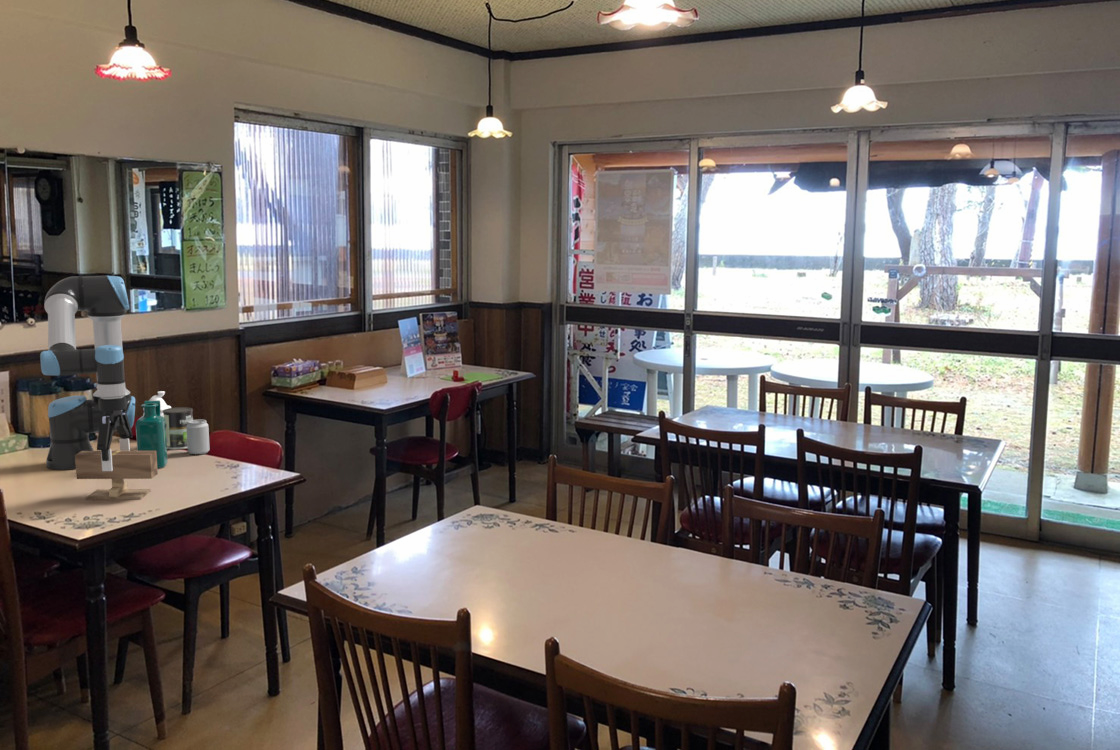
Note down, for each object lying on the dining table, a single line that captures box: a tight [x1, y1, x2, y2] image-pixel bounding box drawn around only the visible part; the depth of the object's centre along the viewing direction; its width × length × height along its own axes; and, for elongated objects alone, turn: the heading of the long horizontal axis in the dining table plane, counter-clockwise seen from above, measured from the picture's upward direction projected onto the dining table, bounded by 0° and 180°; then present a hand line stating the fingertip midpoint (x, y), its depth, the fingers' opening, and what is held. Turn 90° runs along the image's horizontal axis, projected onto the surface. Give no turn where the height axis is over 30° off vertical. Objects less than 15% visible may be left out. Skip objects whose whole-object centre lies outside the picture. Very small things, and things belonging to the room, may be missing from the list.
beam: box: [75, 450, 159, 480], centre depth 271 cm, size 5×22×8 cm, turn 94°
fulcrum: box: [85, 479, 152, 501], centre depth 272 cm, size 8×16×6 cm, turn 95°
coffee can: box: [163, 406, 194, 450], centre depth 332 cm, size 10×10×14 cm
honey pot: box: [141, 390, 172, 417], centre depth 346 cm, size 13×13×18 cm
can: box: [186, 419, 211, 456], centre depth 324 cm, size 8×8×12 cm
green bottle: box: [135, 400, 169, 469], centre depth 305 cm, size 10×8×22 cm
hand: (116, 464), depth 271 cm, fingers open, 13 cm apart
